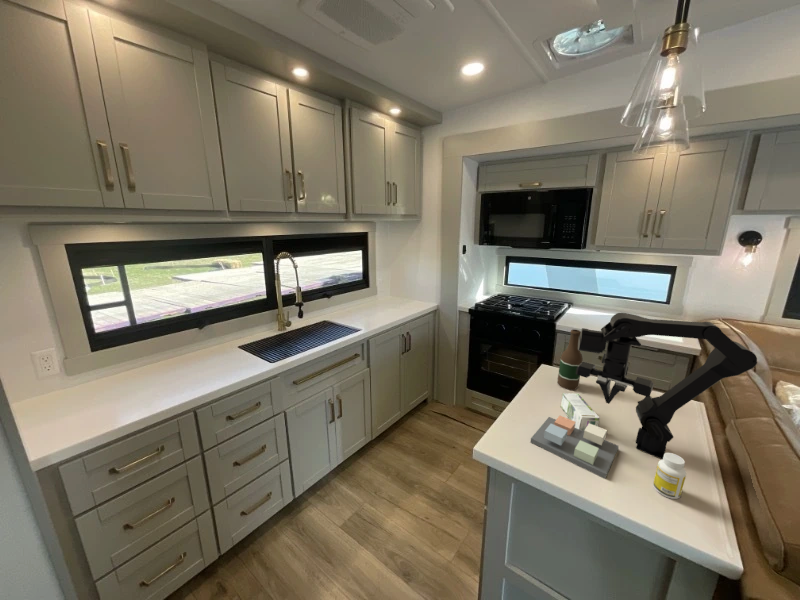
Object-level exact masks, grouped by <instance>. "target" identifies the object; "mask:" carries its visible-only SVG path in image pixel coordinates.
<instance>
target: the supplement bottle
mask: <svg viewBox="0 0 800 600" xmlns="http://www.w3.org/2000/svg"><path fill="white" fill-rule="evenodd" d="M685 464H686V461H685V460H684V458H683V457H681V456H680V455H678V454H676V453H672V452H665V454H664V456H663V459H660V460H658V463H657V466H656V471H655V475H654V478H653V479H654V480H653V486H652V487H653V488H654V489H655V491H657V492H658V493H659V494H660V495H662V496H663V497H664V498H665V497H666V498H667V499H672V500H677V499H680V498H681V495H682V492H683V487H684V485H685V484H684V483H685V480H686V477H687V471H686V469H685V468H684V467H685V466H686V465H685Z"/></svg>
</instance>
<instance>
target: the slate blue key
mask: <svg viewBox="0 0 800 600" xmlns="http://www.w3.org/2000/svg"><path fill="white" fill-rule="evenodd" d="M566 437H567V430H565V429H563V428H560V427H558V426H556V425H553V424H550V425H549V426H548V428H547V429H546V430H545V434H544V438H545V439H547V440H550V441H552V442H554V443H556V444H558V445H560V446H561V445H562V443H563V442H564V440H565V439H566Z"/></svg>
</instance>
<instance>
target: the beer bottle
mask: <svg viewBox="0 0 800 600" xmlns="http://www.w3.org/2000/svg"><path fill="white" fill-rule="evenodd" d="M580 333H581V330H578V329H571V330H570V336H569V340H568V345H567V347H566V349H565V350H563V352H562V354H561V357H560V359H559V368H558V374H557V385H558V386H559V387H560V388H563V389H565V390H568V391H575V390H577V389H578V387H579V384H580V380H581V378H580V377H581V376H579V375H577V374H576V369H577V367H578V366H579V364H580V363H582V362H584V360H583V355H582V353H581V351H580V350H578V340H579V336H580Z"/></svg>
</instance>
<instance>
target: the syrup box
mask: <svg viewBox="0 0 800 600" xmlns="http://www.w3.org/2000/svg"><path fill="white" fill-rule="evenodd" d="M561 395H562V396H561V399H560V408H561V409H562V411H563V412H564V414H565V415H566V416H567V417H568V418H567V419H570V420H572V421H575V422H576V423H575V428H577V429H580V430H582V431H584V430H585V429H586V427H587V426H588V424H589V423H590V424H592V425H595V426H597V427H599V422H600V416H599V415H598V414H597V413H596V412H595V410H593V408H592V407H591V406H590V405H589V404H588V403H587V402H586V400H584V398H583V397H582V396H581V395H580V393H572V392H571V393H569V392H567V393H566V392H563V393H562V394H561Z"/></svg>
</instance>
